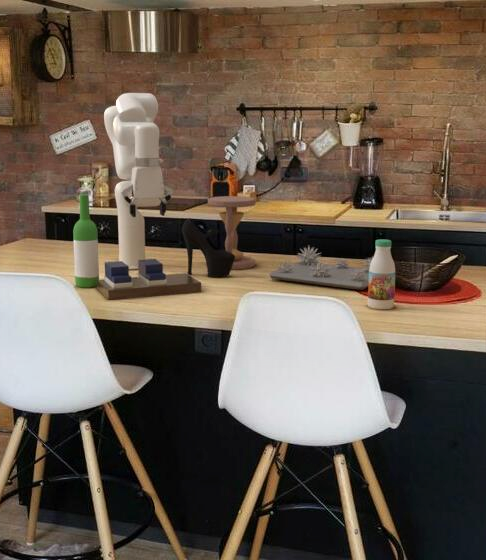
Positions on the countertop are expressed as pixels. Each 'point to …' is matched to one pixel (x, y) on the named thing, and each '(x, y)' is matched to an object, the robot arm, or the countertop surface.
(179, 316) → the countertop surface
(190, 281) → the dark brown flat board
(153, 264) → the blue pale-edged block
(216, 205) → the hourglass
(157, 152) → the robot arm
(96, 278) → the wine bottle
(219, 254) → the high-heeled shoe
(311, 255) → the decorative tray
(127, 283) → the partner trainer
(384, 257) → the milk bottle
